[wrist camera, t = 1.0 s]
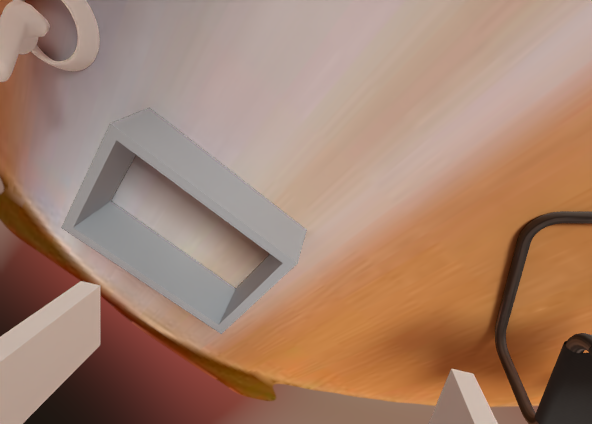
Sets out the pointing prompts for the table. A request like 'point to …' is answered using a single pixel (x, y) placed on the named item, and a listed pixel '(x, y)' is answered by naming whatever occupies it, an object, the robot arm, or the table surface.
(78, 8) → the white ring with handle
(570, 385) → the chair
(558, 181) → the table surface
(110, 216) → the well
